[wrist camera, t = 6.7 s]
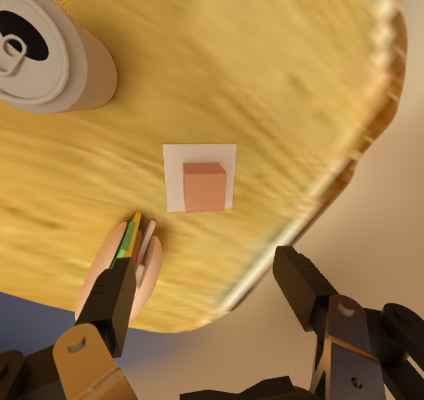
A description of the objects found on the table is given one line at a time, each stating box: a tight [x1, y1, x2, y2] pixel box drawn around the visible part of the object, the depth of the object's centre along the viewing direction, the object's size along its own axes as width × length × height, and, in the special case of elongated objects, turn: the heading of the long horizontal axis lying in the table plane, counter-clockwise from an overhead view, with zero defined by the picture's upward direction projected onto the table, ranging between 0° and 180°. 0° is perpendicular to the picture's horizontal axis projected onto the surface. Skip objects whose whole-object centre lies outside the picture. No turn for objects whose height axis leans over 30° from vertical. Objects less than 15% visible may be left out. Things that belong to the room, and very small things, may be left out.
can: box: [0, 0, 118, 114], centre depth 18 cm, size 8×8×12 cm
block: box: [183, 162, 227, 212], centre depth 28 cm, size 5×5×5 cm
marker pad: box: [163, 143, 237, 212], centre depth 30 cm, size 10×10×1 cm
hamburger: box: [75, 212, 162, 322], centre depth 28 cm, size 12×8×12 cm
